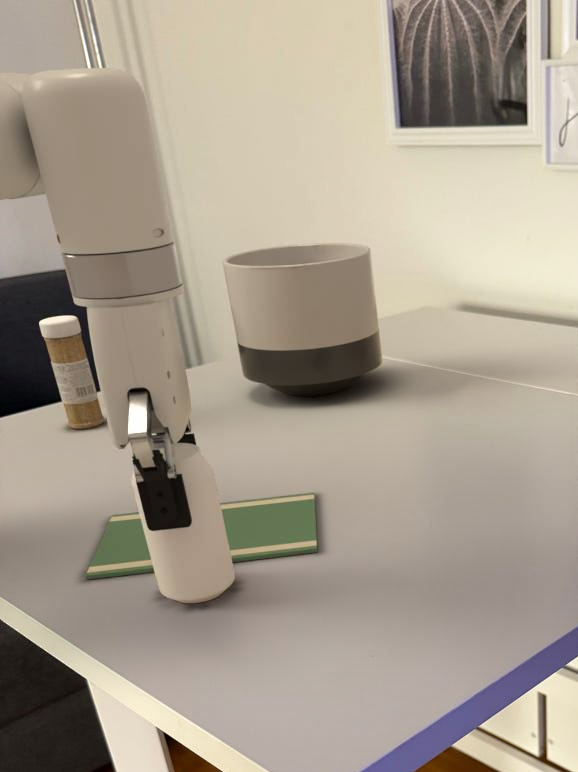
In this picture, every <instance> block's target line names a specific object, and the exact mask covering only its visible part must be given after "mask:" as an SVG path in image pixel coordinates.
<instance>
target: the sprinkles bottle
mask: <svg viewBox="0 0 578 772" xmlns="http://www.w3.org/2000/svg"><path fill="white" fill-rule="evenodd" d="M38 325H39V330H40V333H41V337H43V340H44V341H45V344H46V348H47V351H48V355H49V359H50V363H51V368H52V370H53V374H54V377H55V381H56V385H57V388H58V392H59V395H60V399H61V402H62V404H63V407H64V411H65V414H66V417H67V421H68V422H67V425H68V426H69V427H70V428H71V429H75V430H79V429H80V430H84V429H93V428H95V427H98V426H101V425H103V423H104V422H105V417H104V415H103V413H102V409H101V405H100V401H99V398H98V397H99V396H98V392H97V388H96V384H95V380H94V377H93V374H92V371H91V367H90V362H89V359H88V356H87V353H86V349H85V346H84V342H83V338H82V328H81V325H80V321H79V318H78V316H75V315H57V316H51V317H46V318H44V319H41V320H40V321H39V323H38Z"/></svg>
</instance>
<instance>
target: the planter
mask: <svg viewBox="0 0 578 772" xmlns="http://www.w3.org/2000/svg"><path fill="white" fill-rule="evenodd" d="M222 266H223V273H224V278H225V283H226V288H227V294H228V299H229V304H230V310H231V317H232V322H233V326H234V327H233V328H234V332H235V338H236V343H237V349H238V354H239V360H240V365H241V372H242V375H243V377H244V378H245V379H247V380H249V381H251V382H253V383H258V384H262V385H263V384H264V385H266V386H267V387H269V388H271V389H273V390H275V391H278V392H281V393H284V394H288V395H292V396H297V397H317V396H324V395H328V394H329V395H330V394H333V393H337V392H339V391H342V390H344V389H345V388H346V389H347V388H348V387H349V386H351V385H353V384H355V383H356V382H357V381H358V380H360V379H361V378H362V377H363V376H364V375H365V374H367V373H370V372H372V371H374V370H376V369H377V368H379V367H380V366H381V365H382V362H383V355H382V354H383V353H382V345H381V335H380V326H379V317H378V306H377V298H376V296H377V295H376V287H375V278H374V269H373V258H372V251H371V248H369V246H366V245H364V244H363V245H362V244H357V243H349V242H348V243H347V242H316V243H315V242H314V243H298V244H297V243H296V244H287V245H279V246H269V247H264V248H256V249H251V250H246V251H242V252H238V253H235V254H232V255H229V256H227V257H225V258H224V259H223V260H222Z"/></svg>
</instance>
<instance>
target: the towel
mask: <svg viewBox="0 0 578 772" xmlns="http://www.w3.org/2000/svg"><path fill="white" fill-rule="evenodd" d="M315 496H316V495H315V492H308V493H307V492H306V493H298V494H290V495H289V494H288V495H282V496H281V495H280V496H279V495H278V496H272V497H271V496H270V497H261V498H253V499H245V500H244V499H243V500H237V501H235V500H234V501H228V502H227V501H226V502H220V505H221V510H222V515H223V519H224V524H225V529H226V534H227V539H228V544H229V548H230V553H231V558H232V563H237V562H238V563H239V562H248V561H254V560H262V559H272V558H280V557H281V558H282V557H288V556H297V555H305V554H312V553H313V554H314V553H318V550H319V549H318V534H317V515H316V513H317V512H316V497H315ZM146 573H155V572H154V568H153V564H152V561H151V557H150V553H149V549H148V545H147V541H146V537H145V534H144V530H143V526H142V522H141V518H140V514H139V511H137V512H130V513H129V512H128V513H119V514H112V515H111V516H110V519H109V522H108V524H107V527H106V528H105V531H104V533H103V536H102V538H101V539H100V542H99V545H98V547H97V549H96V552H95V554H94V556H93V558H92V561H91V562H90V566H89V567H88V569H87V571H86V573H85V578H86V580H96V579H105V578H112V577H121V576H130V575H137V574H146Z"/></svg>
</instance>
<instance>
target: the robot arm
mask: <svg viewBox="0 0 578 772" xmlns="http://www.w3.org/2000/svg"><path fill="white" fill-rule="evenodd" d="M164 187H165V186H164V183H163V178H162V172H161V168H160V163H159V159H158V153H157V147H156V143H155V138H154V133H153V128H152V123H151V118H150V113H149V109H148V104H147V100H146V97H145V93H144V89H143V87H142V86H141V84H140V82H139V81H138V79H137V78H136V77H135V76H134V75H133V74H131V73H130V72H129V71H125V70H123V69H120V68H114V67H84V68H83V67H81V68H79V67H78V68H64V69H51V70H42V71H39V72H34V73H33V74H31V73H23V72H22V73H21V72H0V201H2V200H3V201H4V200H18V199H22V198H23V199H24V198H28V197H36V196H43V195H45V197H46V199H47V204H48V208H49V213H50V216H51V219H52V223H53V227H54V232H55V235H56V239H57V243H58V246H59V250H60V252H61V257H62V262H63V265H64V268H65V273H66V278H67V281H68V285H69V289H70V293H71V296H72V300H73V303H74V305H76V306H79V307H85V308H86V316H87V324H88V325H87V326H88V331H89V332H88V333H89V338H90V344H91V350H92V355H93V361H94V366H95V370H96V376H97V380H98V385H99V390H100V394H101V400H102V403H103V409H104V413H105V418H106V422H107V427H108V431H109V436H110V440H111V443H112V445H113V446H114V447H115V448H116V449H118V450H124V449H126V447H127V446H128V445H129V444H130V446H131V447H130V448H131V449H132V450H131V451H132V457H131V459H132V461H131V462H132V464H133V473H135V478H136V484H137V488H138V492H139V496H140V500H141V504H142V508H143V512H144V516H145V520H146V524H147V527H148V529H149V530H151V531H159V530H168V529H177V528H185V527H189V526H190V525H191V523H192V517H191V513H190V508H189V504H188V500H187V495H186V491H185V486H184V482H183V477H182V474H177V469H176V459H175V449H174V444H175V443H189V444H194V445H196V446H198V445H197V441H196V437H195V433H193V432H192V424H191V418H190V417H191V413H192V400H191V393H190V386H189V381H188V375H187V369H186V365H185V359H184V355H183V354H184V353H183V350H182V345H181V340H180V336H179V331H178V327H177V322H176V318H175V312H174V309H173V306H172V305H173V304H172V301H171V299H172V298H173V299H174V298H177V297H178V296H181V295H183V294H184V292H185V287H184V282H183V277H182V273H181V267H180V262H179V257H178V253H177V247H176V243H175V238H174V232H173V228H172V222H171V218H170V213H169V208H168V202H167V198H166V193H165V188H164ZM158 448H164V453H165V460H164V458H163V453H161V452H160V450H159V449H158ZM154 449H157V450H154Z"/></svg>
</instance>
